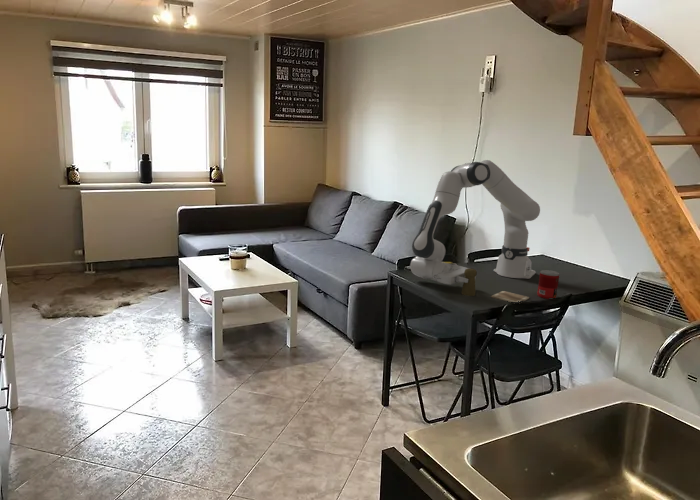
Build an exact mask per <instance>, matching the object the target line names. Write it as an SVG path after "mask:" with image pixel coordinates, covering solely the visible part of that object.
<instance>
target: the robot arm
mask: <svg viewBox="0 0 700 500" xmlns="http://www.w3.org/2000/svg"><path fill="white" fill-rule="evenodd" d="M481 185H482V186H483V187H484V189H486V190H487V191H488V193H490V195H491V196H492V197H493V198H494V199H495V200H496V201H497V202H499V203H500V209H501V211H502V215H503V221H504V237H503V243H502V244H503V245H502V246H501V254H500V255H498V257H497V263H496V268H494V269H493V272H495V273H496V274H498V276H502V277H504V278H505V277H506V278H509V279H510V278H512V279H529V280H530V279H531V278H532V277H534V276H535V274H536V270H533V269H532V263H533V262H532V260H531V259H530V258H529V256H528V255H529V253H528V252H530V250H531V249H530V247H528V241H529V230H528V227H527V225H526V223H527V222H533V221H534V220H536V219H538V217H539V216H540V214H541V206H540V204H539V203H538V202H536V200H534V199H533V198H532V197H531V196H530V195H528V194H527V193H526V192H525V191H524V190H523V189H521V188H520V187H519V186H518V185H516V184H515V183H514V182H513V180H511V179H510V178H509V177H508V175H507V174H506V173H505V172H504V171H503V170H502V168H500V167H499V166H498V164H496V163H494V162H493V161H491V160H488V159H485V160H482V161H473V162H466V163H463V164H460V165H459V164H458V165H457V166H454V167H453V168H452V169H450V170H449V171H446V172H444V173H442V175H441V176H440V179H439V181H438V184H437V186H436V190H435V193H434V196H433V200H432V201H431V202H430V204H429V205H428V206H427V207H428V208H427V209H426V212H425V215H424V218H423V219H422V220H423V221H422V222H421V225H420V228H419V231H418V233H417V234H416V236H415V237H414V239H413V241H412V245H411V250H412V252H413V254H414V255H415V257H413V258H412V259H411V261H410V270H411V271H410V272H411V273H412V274H413V275H415V276H416V277H419V278H420V279H421V278H422V279H424V280H432V281H434V282H437V283H441V284H444V285H448V286H449V285H454V284H456V283H464V282H465V283H468V282H469V278H465V274H464V272H465V270H466V269H469V268H470V267H466V266H462V265H457V263H453V262H452V263H443V262H444V261H443V260H444V258H445V256H446V253H447V250H446V246H445V245H444V243H442V242H441V241H439V240H437V239H434V234H435V230H436V228H437V225H438V222H439V220H440V219H441V217H442V216H447V215H450V214H453V212H455V210H456V209H457V206H458V204H459V202H460V201H459V200H460V197H461V191H462V190H463V189H464V188H466V189H467V188H472V187H476V186H481ZM476 278H477V276H476V277H475V281H476Z"/></svg>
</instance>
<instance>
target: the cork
mask: <svg viewBox="0 0 700 500" xmlns="http://www.w3.org/2000/svg"><path fill="white" fill-rule="evenodd" d="M468 268H469V269H466V270H465V272H464V274H465V278H469V282H468V283H465V282H463V285H462V288H461V295H462V296H469V297H472V296H473V297H474V296H476V280H475V277H476V278H477V273H478V271H477V270H476V269H474V268H470V267H468Z"/></svg>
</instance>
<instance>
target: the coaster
mask: <svg viewBox="0 0 700 500" xmlns="http://www.w3.org/2000/svg"><path fill="white" fill-rule="evenodd" d="M490 298H492V299H496V300H500V301H504V302H507V301H508V302H509V303H511V302H518V301H519V302H520V301H523V302H525V301H528V300H529V299H530V297H529V296H528V295H527V296H526V295H522V294H519V293H513V292H510V291H505V290H502V291H500V292H497V293H494V294H493V295H491V296H490Z"/></svg>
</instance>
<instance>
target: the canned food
mask: <svg viewBox="0 0 700 500" xmlns="http://www.w3.org/2000/svg"><path fill="white" fill-rule="evenodd" d="M559 280H560V272H558V271H555V270H550V269H549V270H548V269H542V270H540V271H539V277H538V285H537V293H536V295H537V297H539V298H541V299H545V300H550V299H549V298H555V299H556V298H557V296H558V295H557V294H558V289H559V288H558V287H559V282H560V281H559Z"/></svg>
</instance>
